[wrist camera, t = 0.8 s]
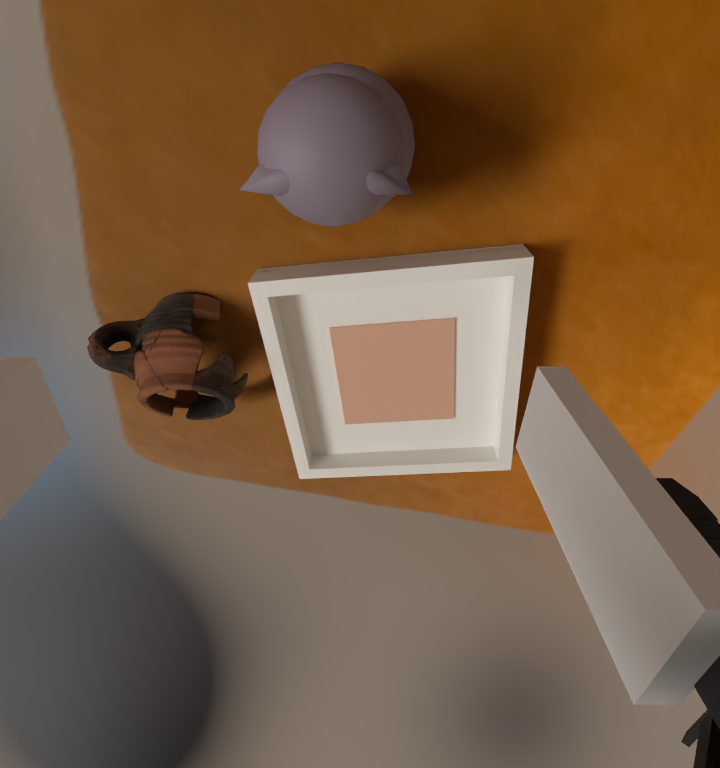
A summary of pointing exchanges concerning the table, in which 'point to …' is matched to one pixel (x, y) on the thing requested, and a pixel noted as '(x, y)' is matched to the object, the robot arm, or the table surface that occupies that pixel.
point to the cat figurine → (334, 145)
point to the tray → (398, 359)
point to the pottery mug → (170, 358)
